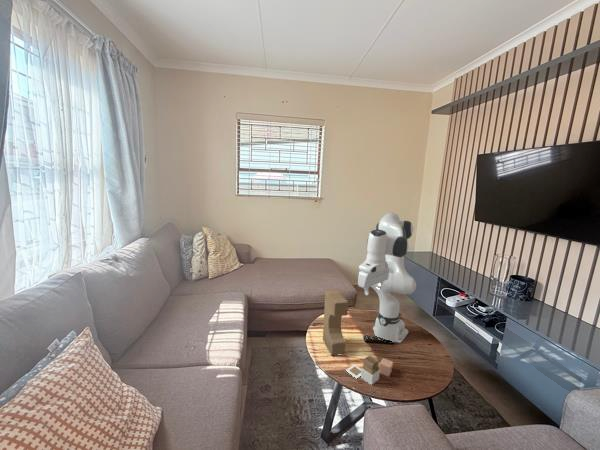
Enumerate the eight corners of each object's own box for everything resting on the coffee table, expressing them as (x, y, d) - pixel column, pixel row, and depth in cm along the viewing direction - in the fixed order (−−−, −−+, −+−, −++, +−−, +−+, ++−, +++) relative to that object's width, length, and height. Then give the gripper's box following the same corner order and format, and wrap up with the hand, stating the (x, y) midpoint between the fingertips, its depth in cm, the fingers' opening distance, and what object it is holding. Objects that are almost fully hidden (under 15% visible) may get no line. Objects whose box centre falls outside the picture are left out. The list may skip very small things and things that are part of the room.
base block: (368, 372, 133) (369, 363, 132) (378, 379, 128) (379, 370, 127) (360, 378, 129) (361, 368, 128) (371, 385, 124) (372, 375, 123)
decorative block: (344, 354, 145) (348, 302, 139) (331, 356, 143) (334, 303, 138) (334, 338, 159) (337, 290, 154) (322, 339, 157) (325, 290, 152)
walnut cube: (369, 364, 131) (370, 354, 130) (378, 370, 127) (379, 360, 126) (362, 368, 128) (363, 359, 127) (371, 374, 124) (372, 365, 123)
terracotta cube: (381, 366, 137) (382, 357, 136) (392, 370, 134) (393, 361, 133) (378, 372, 133) (379, 363, 132) (389, 376, 130) (390, 367, 129)
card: (354, 364, 137) (354, 363, 137) (365, 372, 132) (365, 371, 132) (345, 371, 133) (345, 369, 133) (356, 379, 127) (356, 378, 127)
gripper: (382, 258, 137) (379, 284, 140) (356, 266, 124) (354, 295, 127) (393, 262, 133) (390, 288, 135) (368, 270, 120) (365, 300, 122)
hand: (372, 292), depth 131 cm, fingers open, 8 cm apart
